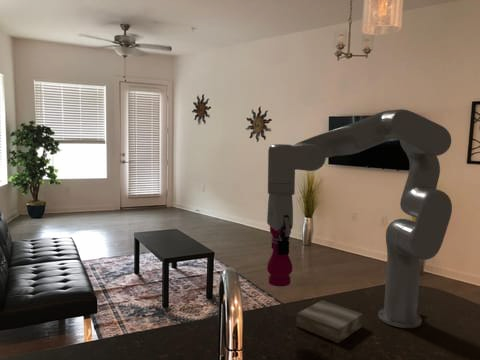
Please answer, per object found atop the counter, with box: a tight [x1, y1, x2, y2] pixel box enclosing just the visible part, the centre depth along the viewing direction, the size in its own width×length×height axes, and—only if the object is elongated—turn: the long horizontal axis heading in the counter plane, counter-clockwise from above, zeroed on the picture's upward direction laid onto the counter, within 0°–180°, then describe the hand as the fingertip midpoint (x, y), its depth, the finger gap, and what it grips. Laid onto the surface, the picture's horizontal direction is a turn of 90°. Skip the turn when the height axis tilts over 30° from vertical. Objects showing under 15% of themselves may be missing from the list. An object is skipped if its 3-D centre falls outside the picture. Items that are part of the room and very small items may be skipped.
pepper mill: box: [266, 226, 293, 288], centre depth 118 cm, size 7×7×20 cm
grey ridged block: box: [295, 299, 364, 344], centre depth 123 cm, size 14×14×4 cm
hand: (280, 250), depth 118 cm, fingers closed on pepper mill, 5 cm apart
